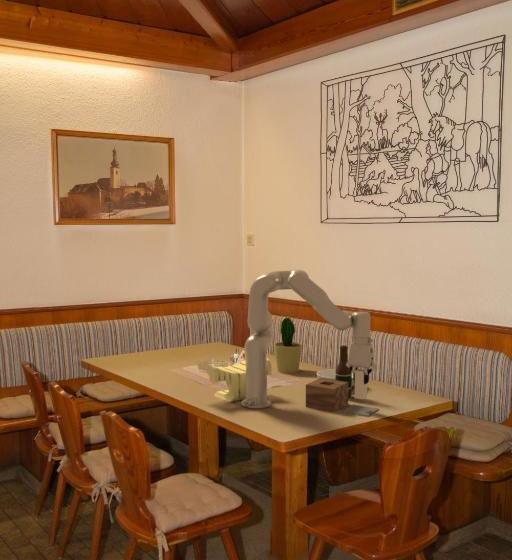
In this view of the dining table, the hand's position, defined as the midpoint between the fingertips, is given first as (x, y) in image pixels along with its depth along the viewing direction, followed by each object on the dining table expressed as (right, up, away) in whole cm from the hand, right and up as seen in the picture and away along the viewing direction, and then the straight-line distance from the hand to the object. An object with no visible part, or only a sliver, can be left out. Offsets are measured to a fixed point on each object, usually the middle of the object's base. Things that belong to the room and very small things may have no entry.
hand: (361, 382), depth 282 cm
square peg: (0, -7, +1) cm, 7 cm away
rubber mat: (0, -12, +1) cm, 13 cm away
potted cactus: (-28, -6, +77) cm, 82 cm away
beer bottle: (-4, -11, +24) cm, 27 cm away
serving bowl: (-5, -9, +42) cm, 43 cm away
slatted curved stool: (-55, -11, +23) cm, 61 cm away
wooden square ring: (-14, -12, +10) cm, 20 cm away
